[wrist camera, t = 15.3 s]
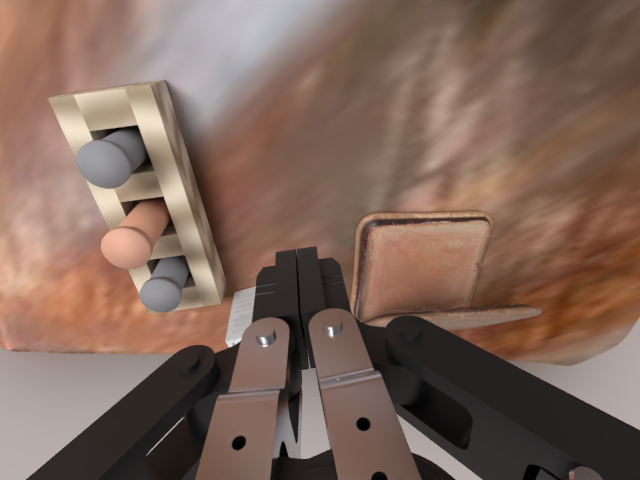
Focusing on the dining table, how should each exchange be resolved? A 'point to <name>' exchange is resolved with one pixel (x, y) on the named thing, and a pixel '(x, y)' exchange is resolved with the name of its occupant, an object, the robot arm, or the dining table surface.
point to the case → (424, 269)
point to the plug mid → (136, 234)
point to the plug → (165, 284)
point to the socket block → (150, 179)
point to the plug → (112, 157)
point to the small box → (240, 315)
